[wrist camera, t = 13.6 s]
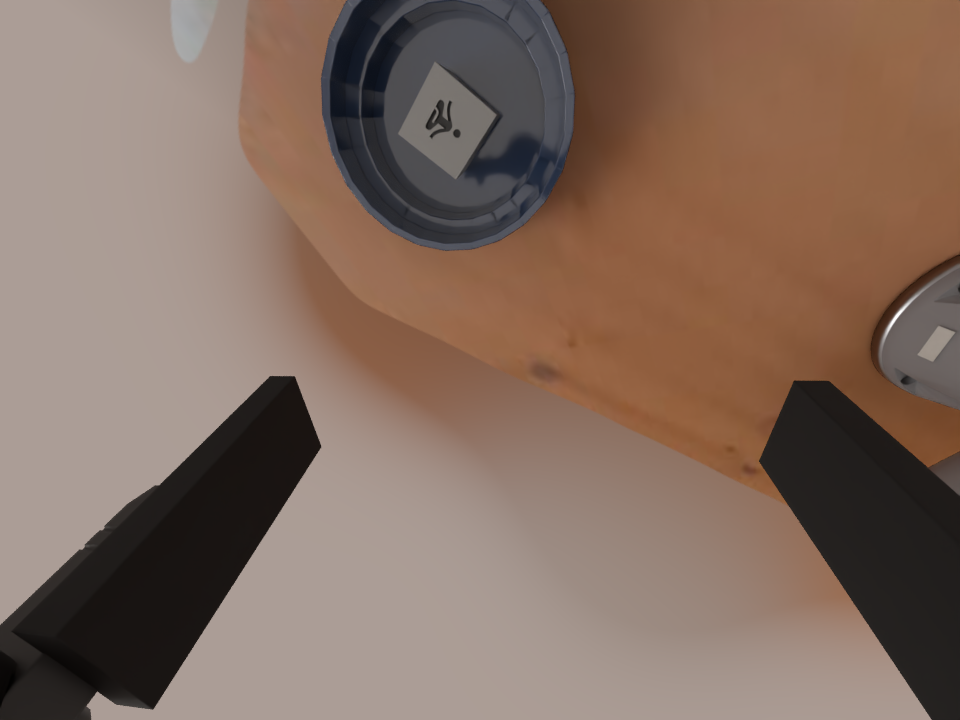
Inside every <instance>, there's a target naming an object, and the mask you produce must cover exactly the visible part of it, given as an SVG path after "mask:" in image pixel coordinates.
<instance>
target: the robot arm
mask: <svg viewBox="0 0 960 720" xmlns="http://www.w3.org/2000/svg"><path fill="white" fill-rule="evenodd" d="M871 356H872V360H873V363H874V365H875V367H876V369H877V370H878V371H879V373H880V374H881V375H882V376H884V377H885V378H886V379H888V380H889V381H890V382H892V383H893V384H894V385H896V386H897V387H899V388H901V389H903V390H905V391H907V392H909V393H911V394H913V395H916V396H918V397H921V398H924V399H928V400H931V401H934V402H937V403H940V404H943V405H946V406H949V407H952V408H955V409H958V410H960V255H959V256H957V257H955V258H953V259H951V260H949V261H947V262H945V263H943V264H941V265H939V266H938V267H936V268H934V269H933V270H931V271H930V272H928V273H927V274H925V275H924V276H922V277H921V278H920V279H918V280H917V281H916V282H914V283H913V284H912V285H911V286H909V287H908V288H907V289H906V290H905V291H904V292H903V293H902V294H901V295H900V296H899V297H898V298H897V299H896V300H895V301H894V302H893V303H892V304H891V306H890V307H889V308H888V309H887V311H886V312H885V314H884V315H883V316H882V318H881V320H880V321H879V323H878V325H877V327H876V330H875V332H874V335H873V338H872V343H871ZM320 448H321V444H320V441H319V439H318V436H317V434H316V431H315V429H314V426H313V423H312V421H311V418H310V415H309V413H308V410H307V407H306V405H305V402H304V400H303V397H302V394H301V392H300V389H299V386H298V384H297V381H296V378H295V377H294V376H270V377H269V378H268V379H267V380H266V381H265V382H264V383H263V384H262V385H261V386H260V387H259V388H258V389H257V390H256V391H255V392H254V393H253V394H252V395H251V396H250V397H249V398H248V399H247V400H246V401H245V402H244V403H243V404H242V405H240V406H239V407H238V408H237V410H235V411H234V412H233V414H231V415H230V416H229V417H228V419H226V420H225V421H224V422H223V423H222V424H221V425H220V426H219V427H218V428H217V429H216V430H215V431H214V432H213V433H212V434H211V435H210V436H209V437H208V438H207V439H206V440H205V441H204V442H203V443H202V444H201V445H200V446H199V447H198V448H197V449H196V450H195V451H194V452H193V453H192V454H191V455H190V456H189V457H188V458H187V459H186V460H185V461H184V462H183V463H182V464H181V465H180V466H179V467H178V468H177V469H176V470H175V471H173V472H172V473H171V475H170V476H168V477H167V478H166V479H165V480H164V481H163V482H162V483H161V484H160V485H159V486H154V487H152V488H151V489H149V490H148V491H146V492H145V493H143V494H142V495H140V496H139V497H137V498H136V499H134V500H133V501H131V502H130V503H128V504H127V505H126V506H125V507H124V508H123V509H122V510H121V511H120V512H119V513H118V514H116V515H115V516H114V517H113V518H112V519H111V520H110V521H109V522H108V523H107V524H106V525H105V528H104V530H102V531H101V530H100V531H99V532H98V533H96V534H95V535H94V536H93V537H92V538H91V539H90V540H89V541H88V542H87V543H86V544H85V548H84V549H83V550H79V551H78V552H77V553H75V555H73V556H72V557H71V558H70V559H69V560H68V561H67V562H66V563H65V564H64V565H63V566H62V567H61V568H60V569H59V570H58V571H57V572H56V573H54V574H53V575H52V576H51V578H49V579H48V580H47V581H46V582H45V583H44V584H43V585H42V586H41V587H40V588H39V589H38V590H37V591H36V592H35V593H34V594H32V596H31V597H29V598H28V599H27V600H26V601H25V602H24V603H23V604H22V605H21V606H20V607H19V608H18V609H17V610H16V611H15V612H14V613H13V614H12V615H10V616H9V617H8V618H7V619H6V620H5V621H4V622H3V623H2V624H1V625H0V720H91V712H90V709H89V708H88V707H86V706H87V704H88V703H89V702H90V700H91V699H92V698H93V696H94V695H95V693H96V692H97V691H98V692H99V693H100V694H102V695H103V696H105V697H106V698H108V699H109V700H110V701H112V702H113V703H115V704H117V705H123V706H131V707H138V708H146V709H154V707H155V706H156V704H157V703H158V701H159V700H160V698H161V697H162V695H163V693H164V692H165V690H166V689H167V687H168V686H169V684H170V682H171V681H172V679H173V678H174V676H175V674H176V673H177V671H178V670H179V668H180V667H181V665H182V664H183V662H184V661H185V659H186V657H187V656H188V654H189V653H190V651H191V650H192V648H193V647H194V645H195V643H196V642H197V640H198V639H199V637H200V635H201V634H202V633H203V631H204V629H205V628H206V626H207V625H208V623H209V622H210V620H211V618H212V617H213V615H214V614H215V612H216V611H217V609H218V608H219V606H220V604H221V603H222V601H223V600H224V598H225V596H226V595H227V593H228V592H229V590H230V589H231V587H232V586H233V584H234V583H235V581H236V579H237V578H238V576H239V575H240V573H241V572H242V570H243V568H244V567H245V565H246V564H247V562H248V561H249V559H250V558H251V556H252V554H253V553H254V551H255V550H256V548H257V546H258V545H259V543H260V542H261V540H262V539H263V537H264V536H265V534H266V532H267V531H268V529H269V528H270V526H271V525H272V523H273V522H274V520H275V518H276V517H277V515H278V514H279V512H280V511H281V509H282V507H283V506H284V504H285V503H286V501H287V500H288V498H289V497H290V495H291V493H292V492H293V490H294V489H295V487H296V485H297V484H298V482H299V481H300V479H301V478H302V476H303V475H304V473H305V472H306V470H307V468H308V467H309V465H310V464H311V462H312V461H313V459H314V458H315V456H316V454H317V453H318V451H319V450H320ZM759 462H760V463H761V465H762V466H763V468H764V469H765V471H766V472H767V474H768V475H769V477H770V478H771V480H772V481H773V483H774V484H775V486H776V487H777V489H778V490H779V492H780V493H781V495H782V496H783V498H784V499H785V501H786V502H787V504H788V505H789V507H790V508H791V510H792V511H793V513H794V514H795V516H796V517H797V519H798V520H799V521H800V523H801V525H802V526H803V528H804V529H805V531H806V532H807V534H808V535H809V537H810V538H811V540H812V541H813V543H814V544H815V546H816V547H817V549H818V550H819V552H820V553H821V555H822V556H823V558H824V559H825V561H826V562H827V564H828V565H829V567H830V568H831V570H832V571H833V573H834V574H835V576H836V577H837V579H838V580H839V582H840V583H841V585H842V586H843V588H844V589H845V590H846V592H847V594H848V595H849V597H850V598H851V600H852V601H853V603H854V604H855V606H856V607H857V608H858V610H859V611H860V613H861V614H862V616H863V618H864V619H865V621H866V622H867V624H868V625H869V627H870V628H871V629H872V631H873V632H874V634H875V635H876V637H877V639H878V640H879V642H880V643H881V644H882V646H883V648H884V649H885V651H886V652H887V653H888V655H889V656H890V658H891V659H892V661H893V662H894V664H895V665H896V667H897V668H898V670H899V671H900V673H901V674H902V676H903V677H904V679H905V680H906V682H907V683H908V685H909V686H910V688H911V689H912V691H913V692H914V694H915V695H916V697H917V698H918V700H919V701H920V703H921V704H922V706H923V707H924V709H925V710H926V712H927V713H928V715H929V716H930V718H931V719H932V720H960V451H959V452H957V453H955V454H953V455H952V456H950V457H948V458H946V459H944V460H942V461H940V462H938V463H936V464H934V465H932V466H930V467H926V466H925V465H924V464H923V463H922V462H921V461H920V460H918V459H917V458H916V457H915V456H914V455H913V454H912V453H910V452H909V451H908V450H907V449H906V448H905V447H904V446H902V445H901V444H900V443H899V442H898V441H897V440H896V439H894V438H893V437H892V436H891V435H890V434H889V433H888V432H886V431H885V430H884V429H883V428H882V427H881V426H880V425H878V424H877V423H876V422H875V421H874V420H873V419H872V418H870V417H869V416H868V415H867V414H866V413H865V412H864V411H862V410H861V409H860V408H859V407H858V406H857V405H856V404H854V403H853V402H852V401H851V400H850V399H849V398H848V397H847V396H845V395H844V394H843V393H842V392H841V391H840V390H839V389H837V388H836V387H835V386H834V385H833V384H832V383H831V382H829V381H794V382H793V384H792V387H791V389H790V391H789V394H788V396H787V398H786V400H785V403H784V405H783V407H782V410H781V412H780V414H779V417H778V419H777V421H776V423H775V426H774V428H773V430H772V433H771V435H770V437H769V440H768V442H767V444H766V446H765V449H764V451H763V453H762V456H761V458H760V460H759Z"/></svg>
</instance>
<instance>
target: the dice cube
mask: <svg viewBox="0 0 960 720" xmlns="http://www.w3.org/2000/svg"><path fill="white" fill-rule="evenodd" d="M499 117H500V114H499V113H498V112H497V111H495V110H494V109H493V108H492V107H491V106H490V105H489V104H487V103H486V102H485V101H484V100H483V99H482V98H481V97H479V96H478V95H477V94H476V93H475V92H474V91H472V90H471V89H470V88H469V87H468V86H467V85H466V84H464V83H463V82H462V81H461V80H460V79H459V78H458V77H456V76H455V75H454V74H453V73H452V72H451V71H449V70H448V69H447V68H445V67H444V66H442V65H440V64H439V63H437V62H434V64H433V66H432V68H431V70H430V72H429V74H428V76H427V78H426V80H425V82H424V84H423V86H422V88H421V90H420V92H419V94H418V96H417V98H416V100H415V102H414V104H413V106H412V107H411V109H410V111H409V113H408V115H407V117H406V119H405V121H404V123H403V125H402V127H401V129H400V131H399V133H398V134H399V135H400V136H401V137H403V138H404V139H405V140H406V141H408V142H409V143H410V144H411V145H413V146H414V147H415V148H416V149H418V150H419V151H420V152H422V153H423V154H424V155H425V156H427V157H428V158H429V159H430V160H432V161H433V162H434V163H435V164H437V165H438V166H439V167H441V168H442V169H443V170H444V171H446V172H447V173H448V174H449V175H451V176H452V177H453V178H454V179H457V178H459V177H460V176H461V175H462V174H463V173H464V172H465V171H466V169H467V167H468V166H469V164H470V163H471V161H472V159H473V158H474V156H475V155H476V153H477V152H478V150H479V148H480V147H481V145H482V144H483V142H484V140H485V139H486V137H487V136H488V134H489V132H490V131H491V129H492V128H493V126H494V125H495V123H496V121H497V120H498V118H499Z"/></svg>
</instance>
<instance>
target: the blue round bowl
mask: <svg viewBox="0 0 960 720" xmlns="http://www.w3.org/2000/svg"><path fill="white" fill-rule="evenodd" d="M434 62H437V63H439V64H440V65H442V66H444V67H445V68H447V69H448V70H449V71H451V72H452V73H453V74H454V75H455V76H456V77H458V78H459V79H460V80H461V81H462V82H463V83H464V84H466V85H467V86H468V87H469V88H470V89H471V90H472V91H474V92H475V93H476V94H477V95H478V96H479V97H481V98H482V99H483V100H484V101H485V102H486V103H487V104H489V105H490V106H491V107H492V108H493V109H494V110H495V111H497V112H498V113H499V114H500V117H499V118H498V120H497V121H496V123H495V125H494V126H493V128H492V129H491V131H490V132H489V134H488V136H487V137H486V139H485V140H484V142H483V144H482V145H481V147H480V148H479V150H478V152H477V153H476V155H475V156H474V158H473V159H472V161H471V163H470V164H469V166H468V167H467V169H466V171H465V172H464V173H463V174H462V175H461V176H460V177H459V178H457V179H454V178H453V177H452V176H451V175H449V174H448V173H447V172H446V171H444V170H443V169H442V168H441V167H439V166H438V165H437V164H435V163H434V162H433V161H432V160H430V159H429V158H428V157H427V156H425V155H424V154H423V153H422V152H420V151H419V150H418V149H416V148H415V147H414V146H413V145H411V144H410V143H409V142H408V141H406V140H405V139H404V138H403V137H401V136H400V135H399V134H398V133H399V131H400V129H401V127H402V125H403V123H404V121H405V119H406V117H407V115H408V113H409V111H410V109H411V107H412V106H413V104H414V102H415V100H416V98H417V96H418V94H419V92H420V90H421V88H422V86H423V84H424V82H425V80H426V78H427V76H428V74H429V72H430V70H431V68H432V66H433V64H434ZM321 89H322V116H323V121H324V125H325V129H326V133H327V137H328V141H329V145H330V149H331V153H332V155H333V157H334V160H335V162H336V164H337V166H338V168H339V170H340V172H341V174H342V176H343V178H344V180H345V183H346V184H347V186H348V188H349V189H350V190H351V191H352V193H353V194H354V195H355V197H356V198H357V199H358V201H359V202H360V203H361V204H362V206H363V207H364V208H365V210H366V211H367V212H368V213H369V214H371V215H372V216H373V217H374V218H375V219H377V220H378V221H379V222H380V223H381V224H383V225H384V226H385V227H386V228H387V229H388V230H390V231H391V232H393V233H395V234H397V235H399V236H401V237H403V238H405V239H407V240H409V241H411V242H413V243H415V244H417V245H421V246H425V247H430V248H435V249H439V250H445V251H450V250H471V249H476V248H479V247H482V246H485V245H488V244H491V243H494V242H497V241H499V240H501V239H503V238H505V237H506V236H508V235H509V234H511V233H512V232H514V231H515V230H517V229H518V228H520V227H521V226H523V225H524V224H526V222H527V221H528V220H529V219H530V218H531V217H532V216H533V215H534V214H535V213H536V212H537V210H538V209H539V208H540V207H541V206H542V205H543V204H544V203H545V202H546V200H547V199H548V197H549V195H550V193H551V191H552V189H553V188H554V186H555V184H556V182H557V180H558V179H559V177H560V175H561V173H562V171H563V169H564V165H565V161H566V158H567V154H568V151H569V147H570V143H571V140H572V136H573V127H574V106H575V90H574V84H573V79H572V74H571V68H570V63H569V57H568V52H567V49H566V47H565V45H564V42H563V40H562V38H561V36H560V33H559V31H558V29H557V27H556V25H555V22H554V20H553V18H552V16H551V13H550V12H549V10H548V9H547V7H546V6H545V5H544V4H543V2H542V1H541V0H347V1H346V2H345V5H344V7H343V9H342V11H341V13H340V15H339V17H338V19H337V21H336V23H335V26H334V28H333V30H332V32H331V34H330V37H329V40H328V45H327V50H326V55H325V60H324V65H323V70H322V77H321Z"/></svg>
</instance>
